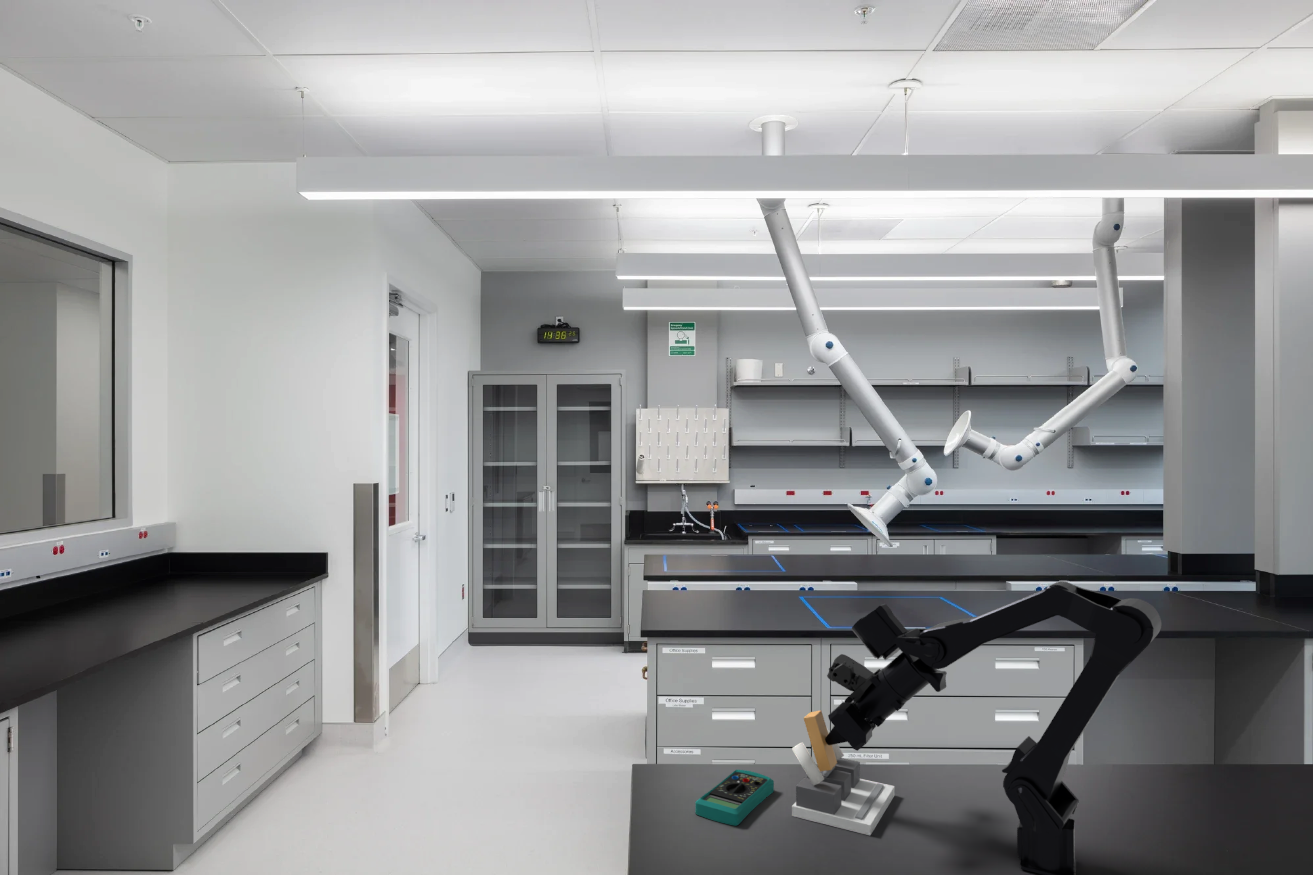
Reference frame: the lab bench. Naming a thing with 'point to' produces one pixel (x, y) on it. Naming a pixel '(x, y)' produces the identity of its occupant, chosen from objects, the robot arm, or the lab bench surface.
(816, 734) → the wooden block
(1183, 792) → the lab bench surface
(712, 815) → the digital multimeter
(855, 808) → the twin post stand
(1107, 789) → the lab bench surface
